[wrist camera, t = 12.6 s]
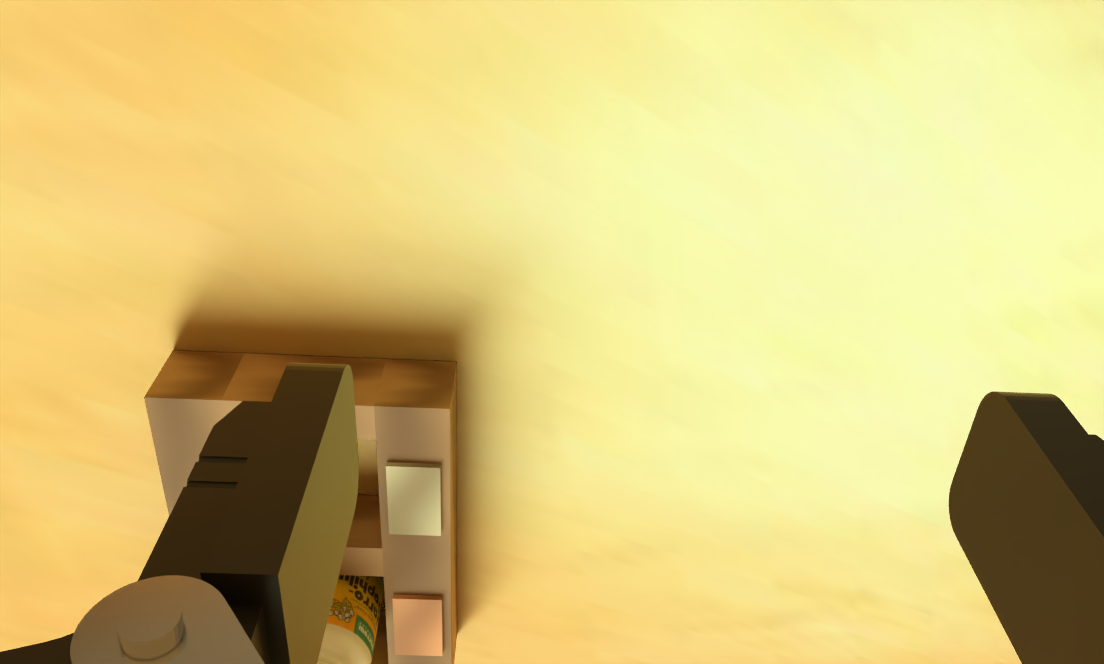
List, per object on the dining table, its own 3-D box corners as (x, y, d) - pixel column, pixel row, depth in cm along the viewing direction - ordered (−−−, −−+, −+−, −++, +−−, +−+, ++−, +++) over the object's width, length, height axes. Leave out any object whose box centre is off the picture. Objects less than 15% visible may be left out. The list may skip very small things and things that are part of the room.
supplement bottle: (275, 561, 55) (228, 704, 47) (339, 515, 53) (302, 656, 45) (343, 610, 57) (310, 756, 49) (408, 568, 55) (384, 712, 47)
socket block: (456, 361, 48) (449, 412, 44) (456, 635, 58) (450, 695, 54) (173, 350, 47) (142, 401, 44) (224, 628, 58) (203, 688, 54)
